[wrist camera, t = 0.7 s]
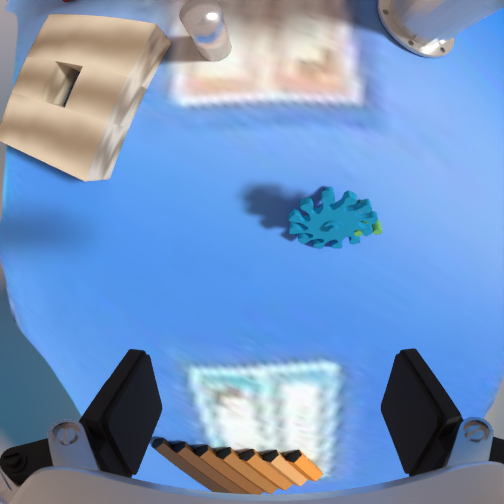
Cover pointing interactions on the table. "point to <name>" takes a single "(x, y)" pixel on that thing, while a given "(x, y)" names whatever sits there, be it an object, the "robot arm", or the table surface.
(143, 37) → the hole block
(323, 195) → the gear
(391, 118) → the table surface
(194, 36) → the steel peg
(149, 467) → the table surface
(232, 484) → the pan flute
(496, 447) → the robot arm
